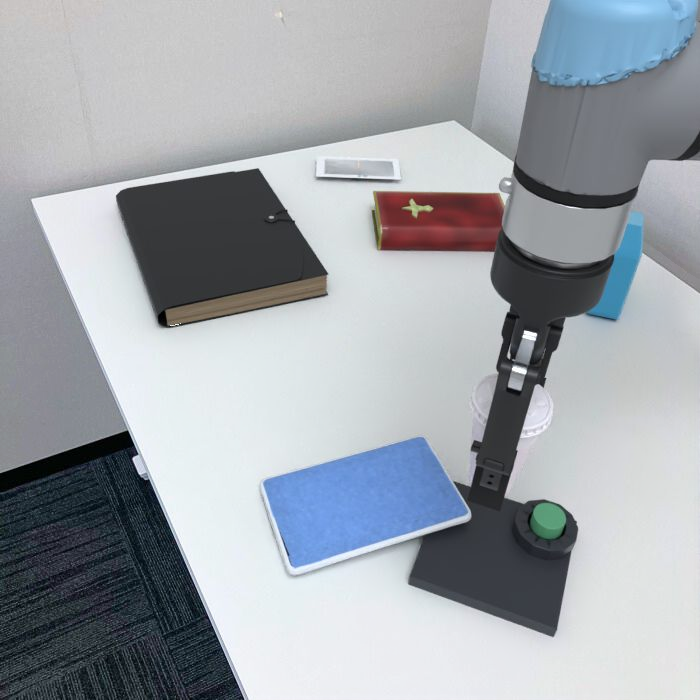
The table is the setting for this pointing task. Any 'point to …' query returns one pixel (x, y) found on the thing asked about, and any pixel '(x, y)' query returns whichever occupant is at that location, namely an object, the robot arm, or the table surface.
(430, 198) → the hardcover book
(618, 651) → the table surface
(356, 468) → the tablet
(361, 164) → the white picture frame
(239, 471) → the table surface
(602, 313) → the data package
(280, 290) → the black photo album
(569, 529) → the black button base
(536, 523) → the button
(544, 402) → the smoothie
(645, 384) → the table surface
